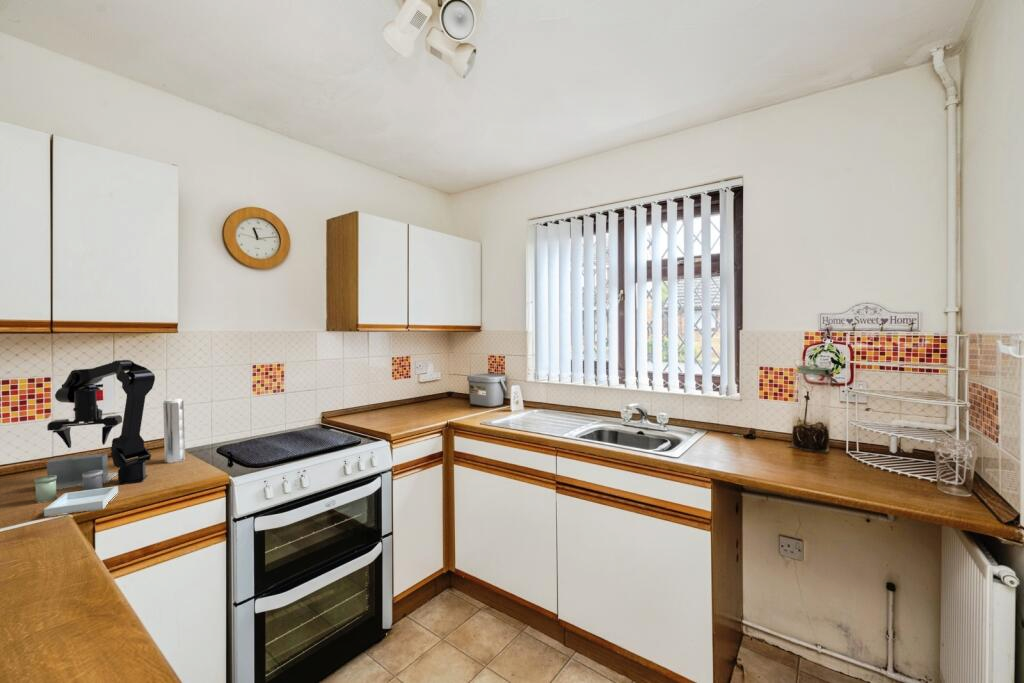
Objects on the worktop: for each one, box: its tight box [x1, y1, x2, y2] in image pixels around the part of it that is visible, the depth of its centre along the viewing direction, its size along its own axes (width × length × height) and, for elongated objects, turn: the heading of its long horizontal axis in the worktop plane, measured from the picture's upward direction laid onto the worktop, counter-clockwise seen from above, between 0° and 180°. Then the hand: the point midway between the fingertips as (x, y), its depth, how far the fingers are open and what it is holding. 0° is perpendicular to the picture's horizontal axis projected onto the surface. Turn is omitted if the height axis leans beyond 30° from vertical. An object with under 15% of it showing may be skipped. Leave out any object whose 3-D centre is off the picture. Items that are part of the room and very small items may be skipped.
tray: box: [43, 485, 119, 517], centre depth 132 cm, size 13×14×2 cm
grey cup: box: [82, 470, 103, 491], centre depth 141 cm, size 5×5×7 cm
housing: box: [46, 452, 118, 490], centre depth 151 cm, size 18×9×9 cm, turn 118°
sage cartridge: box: [33, 475, 58, 503], centre depth 136 cm, size 5×5×7 cm
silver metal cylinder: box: [162, 398, 186, 464], centre depth 176 cm, size 6×6×25 cm
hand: (87, 446), depth 157 cm, fingers open, 9 cm apart
